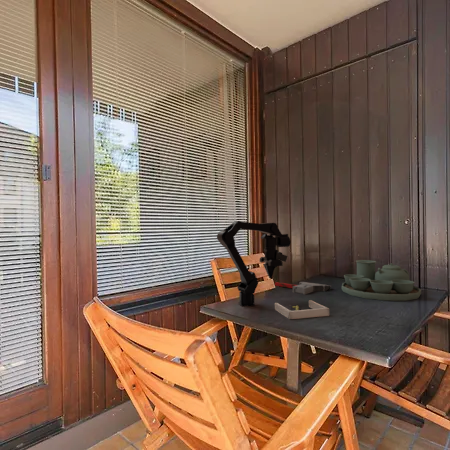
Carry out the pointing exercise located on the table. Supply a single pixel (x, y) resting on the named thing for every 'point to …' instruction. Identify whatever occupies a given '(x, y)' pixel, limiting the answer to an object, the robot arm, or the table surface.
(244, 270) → the robot arm
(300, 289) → the toy hammer
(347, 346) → the table surface
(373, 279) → the tea set
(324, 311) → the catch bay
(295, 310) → the key
